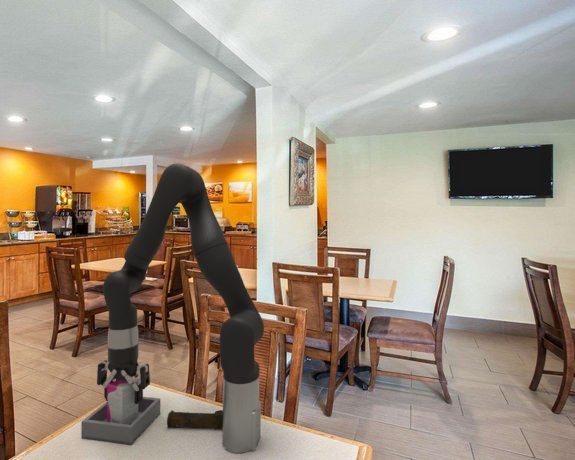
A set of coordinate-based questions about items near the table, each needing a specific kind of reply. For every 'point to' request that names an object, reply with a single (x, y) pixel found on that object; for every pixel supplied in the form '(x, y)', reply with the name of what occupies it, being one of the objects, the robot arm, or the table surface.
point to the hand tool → (196, 419)
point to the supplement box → (121, 403)
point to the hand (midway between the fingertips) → (123, 401)
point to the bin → (120, 433)
